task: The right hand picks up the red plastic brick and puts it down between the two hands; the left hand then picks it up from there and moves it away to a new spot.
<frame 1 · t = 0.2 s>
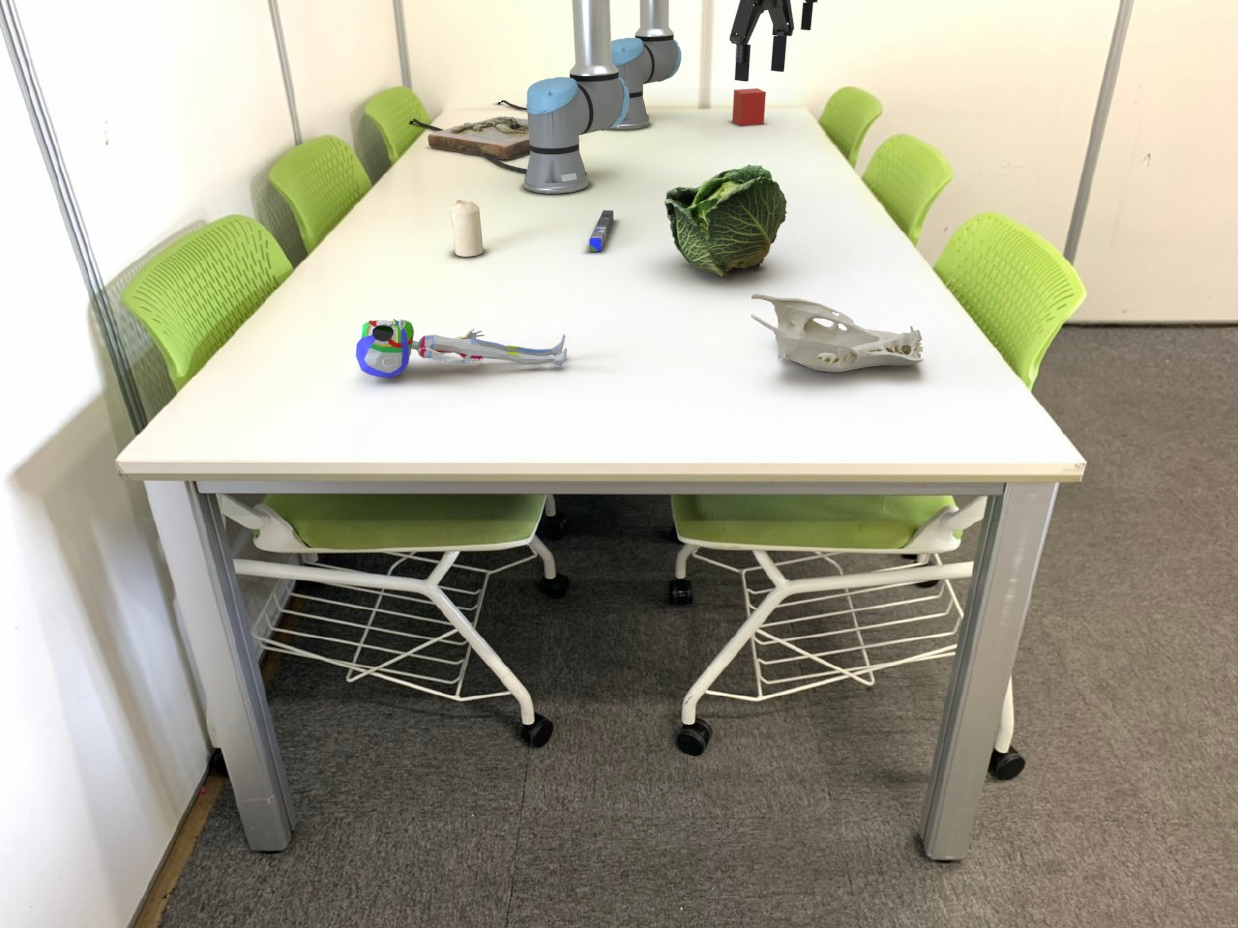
left hand: (759, 76, 180), 28 cm above the table, tool pointing down, fingers open, 13 cm apart
right hand: (791, 33, 236), 28 cm above the table, tool pointing down, fingers open, 13 cm apart
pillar: (602, 236, 183), on the table
brick: (747, 122, 272), on the table
anatomical model: (832, 363, 132), on the table
vegetable: (723, 269, 166), on the table
plaque: (504, 143, 253), on the table
candle: (469, 253, 175), on the table
toy: (464, 369, 132), on the table
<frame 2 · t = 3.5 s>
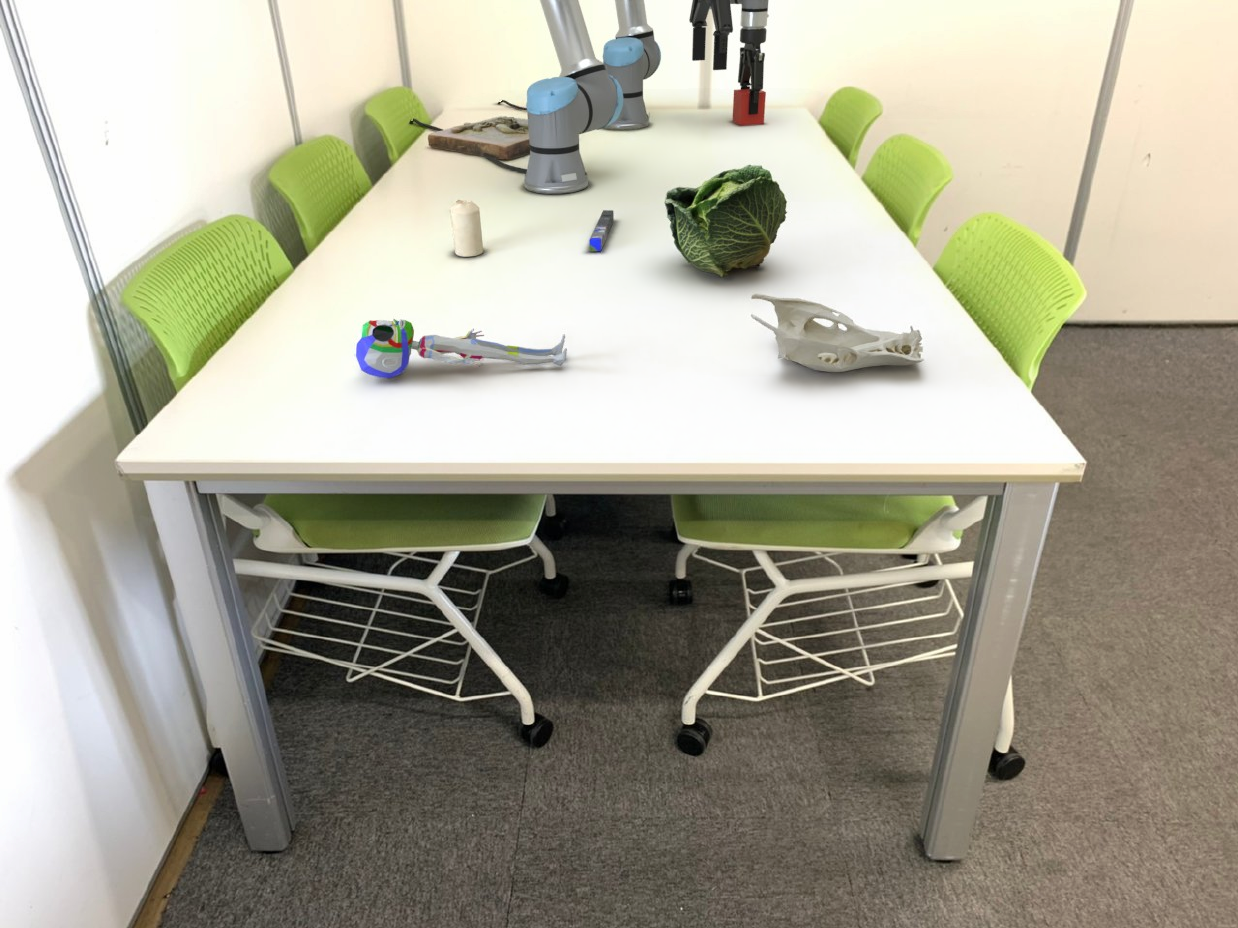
left hand: (708, 65, 192), 28 cm above the table, tool pointing down, fingers open, 13 cm apart
right hand: (748, 111, 270), 3 cm above the table, tool pointing down, fingers closed on brick, 7 cm apart
brick: (747, 122, 272), on the table, touching right hand
everything else where it was.
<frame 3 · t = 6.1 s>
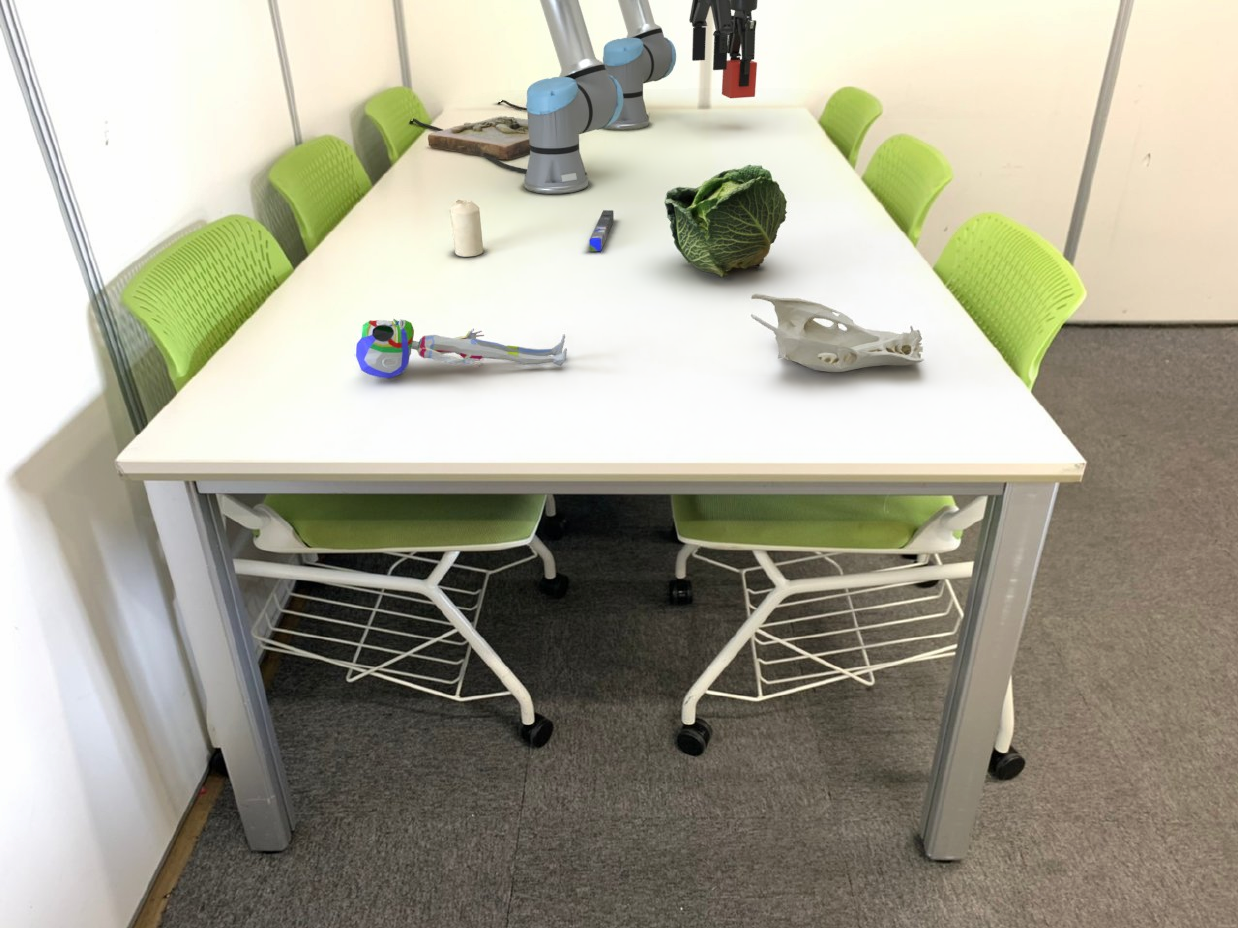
left hand: (708, 65, 192), 28 cm above the table, tool pointing down, fingers open, 13 cm apart
right hand: (738, 83, 257), 13 cm above the table, tool pointing down, fingers closed on brick, 7 cm apart
brick: (738, 95, 259), point 9 cm above the table, touching right hand
everything else where it was.
when the right hand's fingers open (4 cm above the table, at t = 9.0 s): brick drops 1 cm, on the table.
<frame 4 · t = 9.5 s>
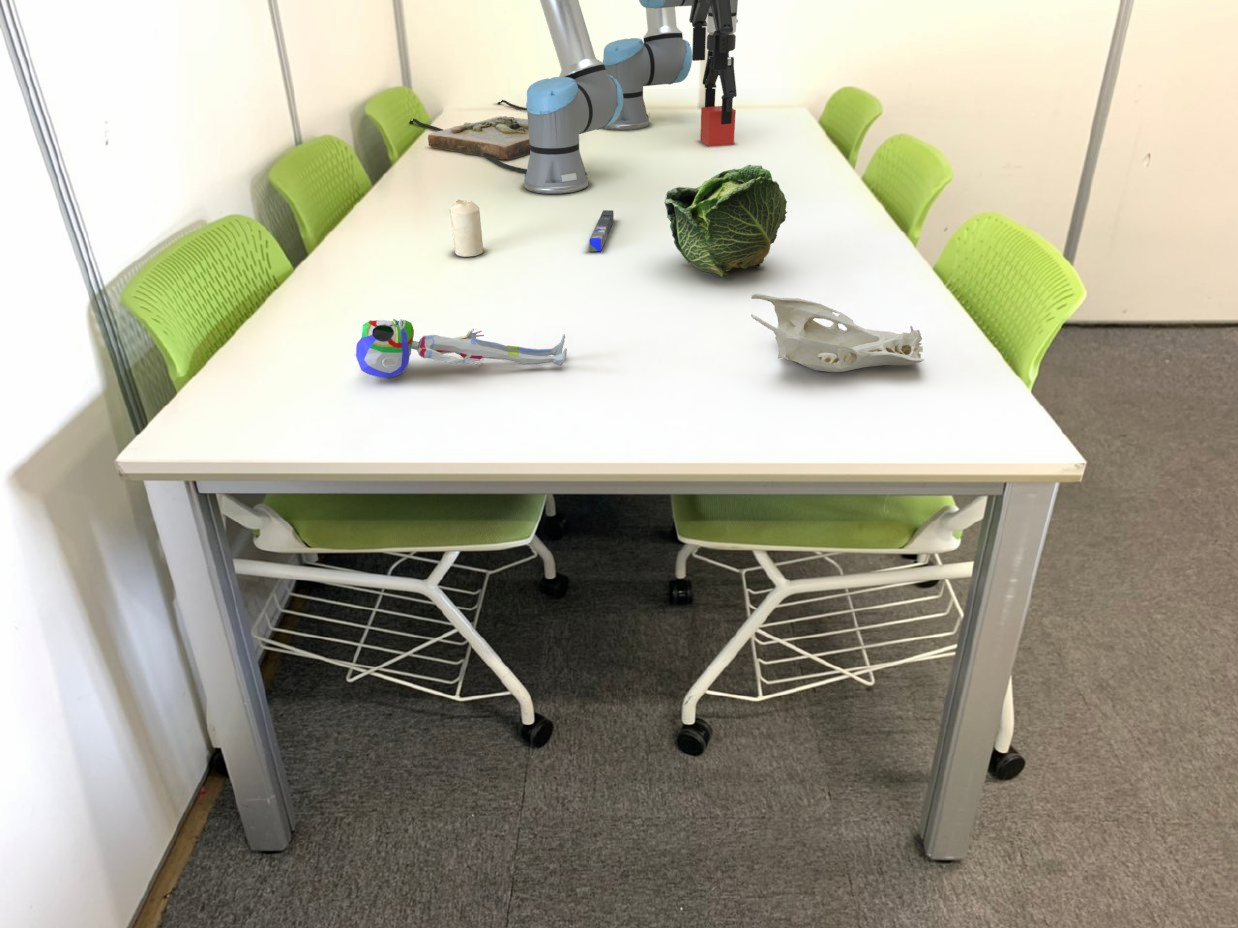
left hand: (708, 65, 192), 28 cm above the table, tool pointing down, fingers open, 13 cm apart
right hand: (717, 118, 247), 6 cm above the table, tool pointing down, fingers open, 13 cm apart
brick: (716, 143, 250), on the table
everything else where it was.
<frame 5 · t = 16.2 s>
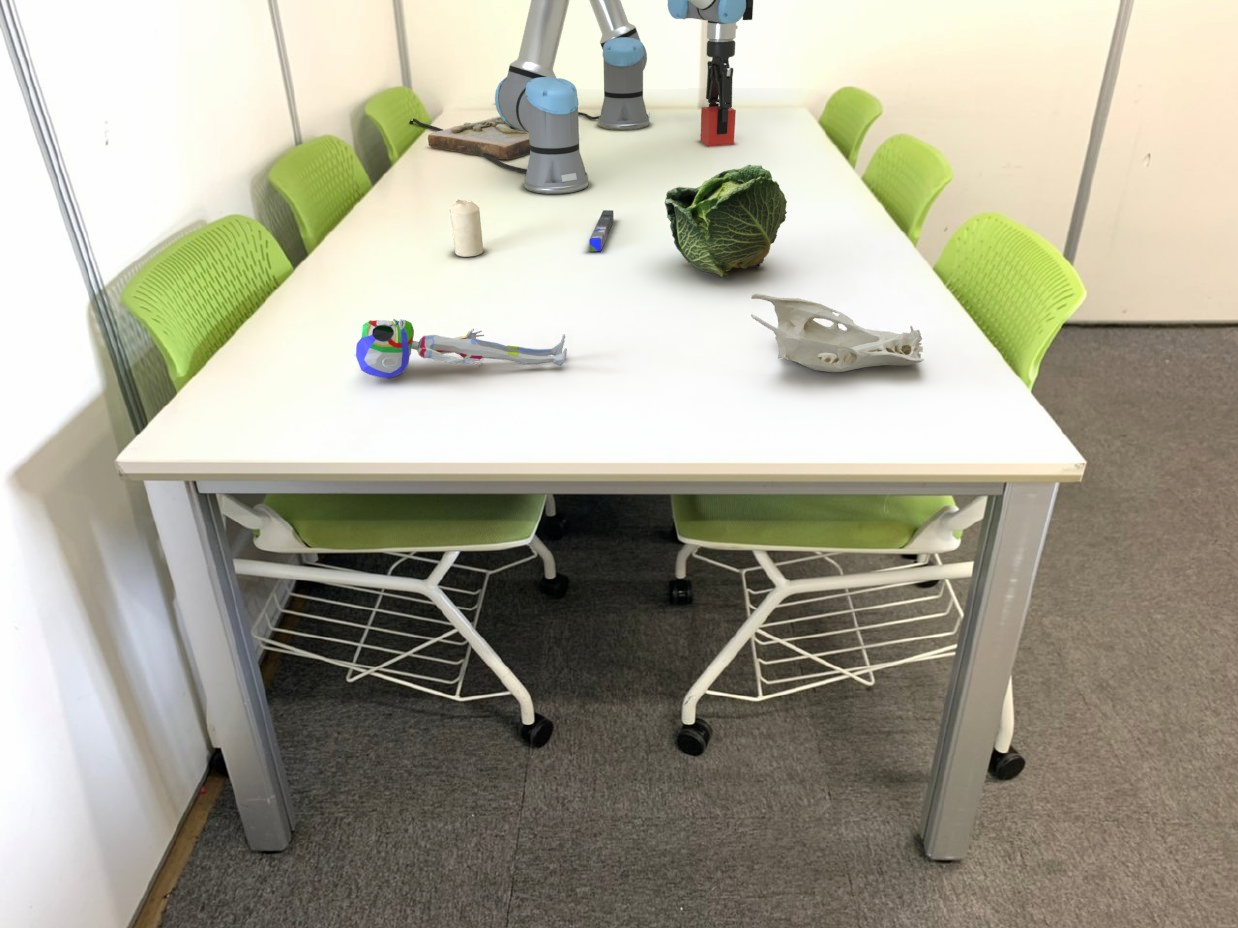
left hand: (717, 131, 249), 3 cm above the table, tool pointing down, fingers closed on brick, 7 cm apart
right hand: (738, 17, 265), 28 cm above the table, tool pointing down, fingers open, 13 cm apart
brick: (716, 143, 250), on the table, touching left hand
everything else where it was.
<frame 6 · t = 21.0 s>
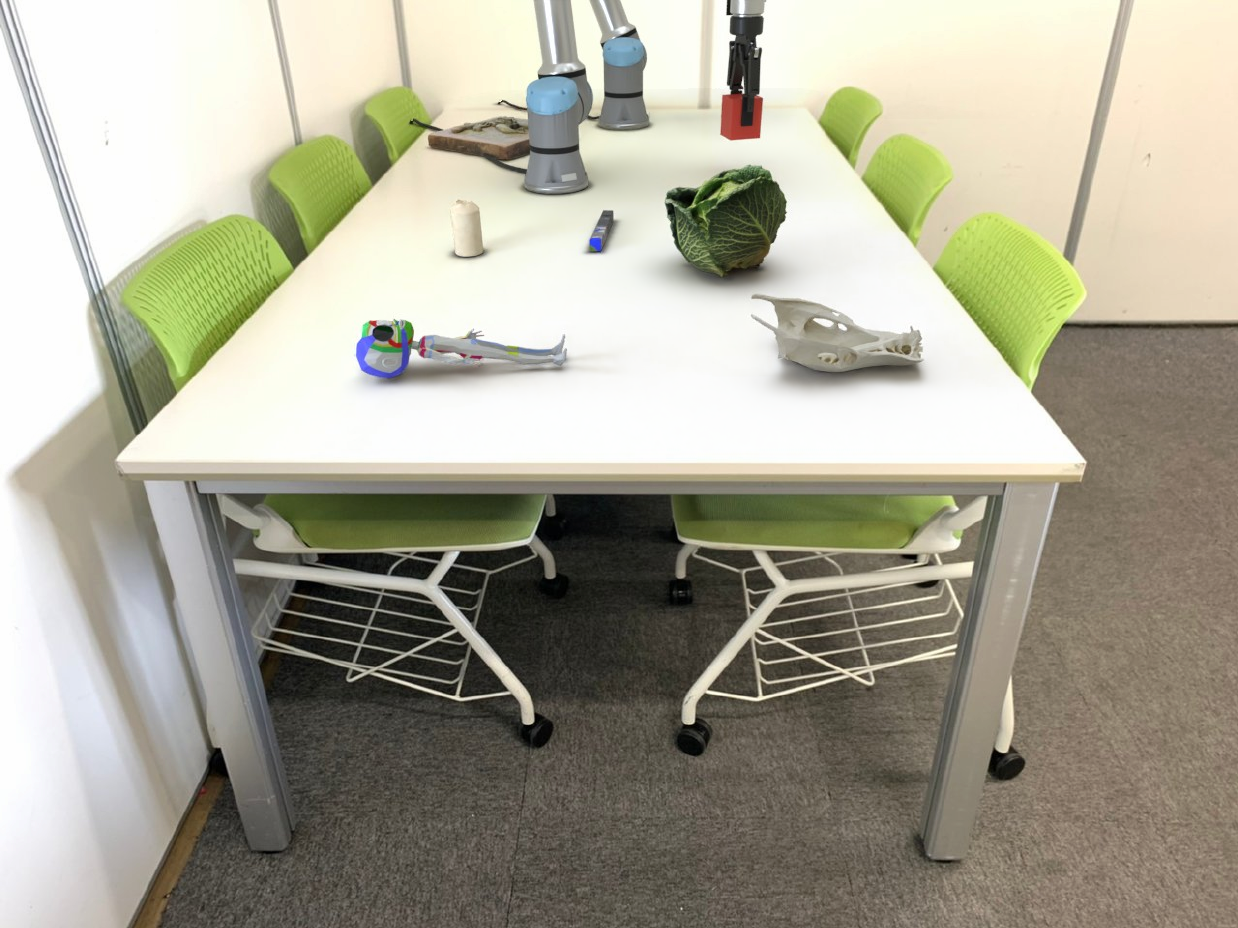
left hand: (740, 122, 213), 13 cm above the table, tool pointing down, fingers closed on brick, 7 cm apart
right hand: (738, 17, 265), 28 cm above the table, tool pointing down, fingers open, 13 cm apart
brick: (740, 136, 215), point 9 cm above the table, touching left hand
everything else where it was.
when the left hand's fingers open (4 cm above the table, at t = 26.0 s): brick drops 1 cm, on the table.
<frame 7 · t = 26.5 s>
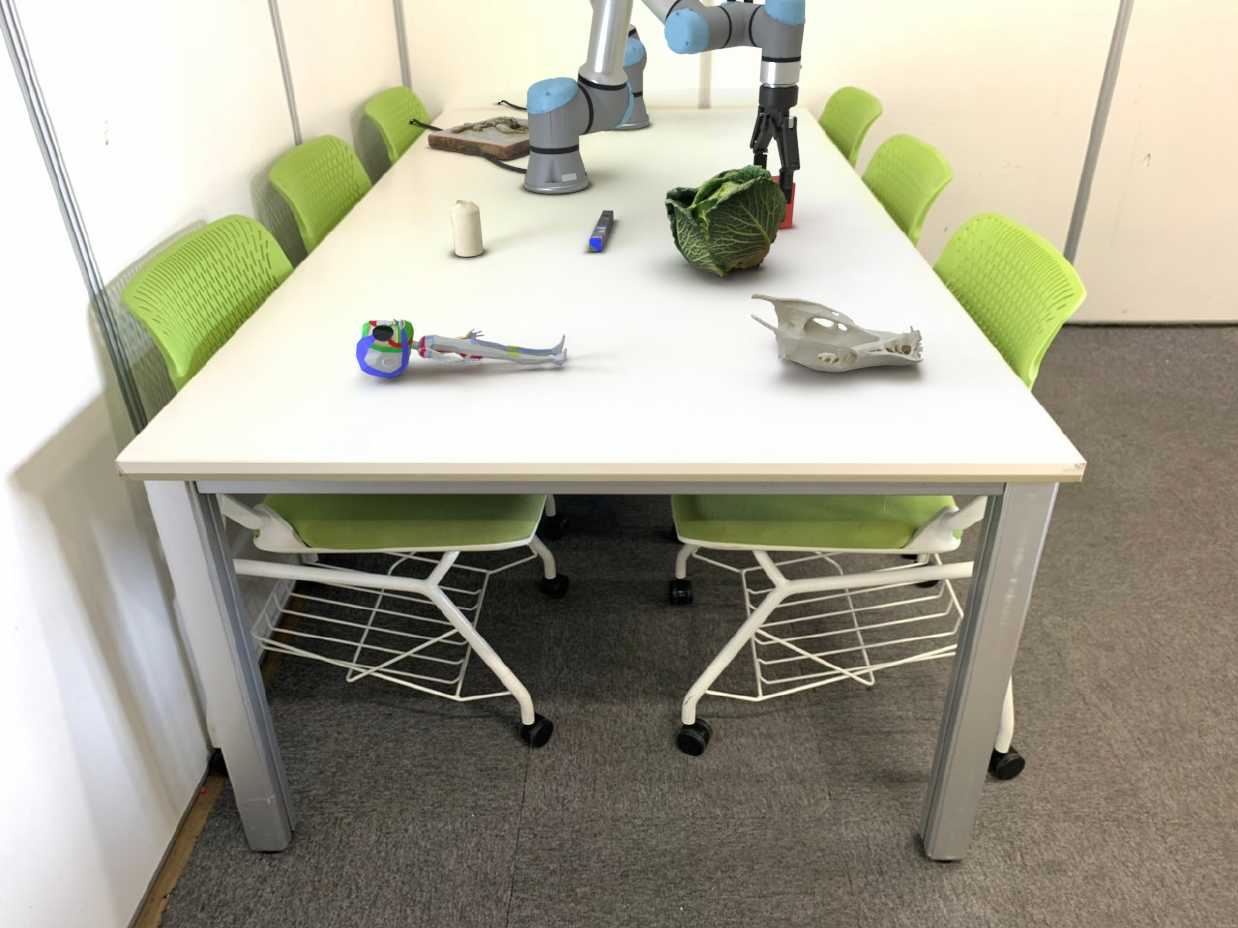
left hand: (770, 195, 184), 6 cm above the table, tool pointing down, fingers open, 13 cm apart
right hand: (738, 17, 265), 28 cm above the table, tool pointing down, fingers open, 13 cm apart
brick: (768, 224, 188), on the table
everything else where it was.
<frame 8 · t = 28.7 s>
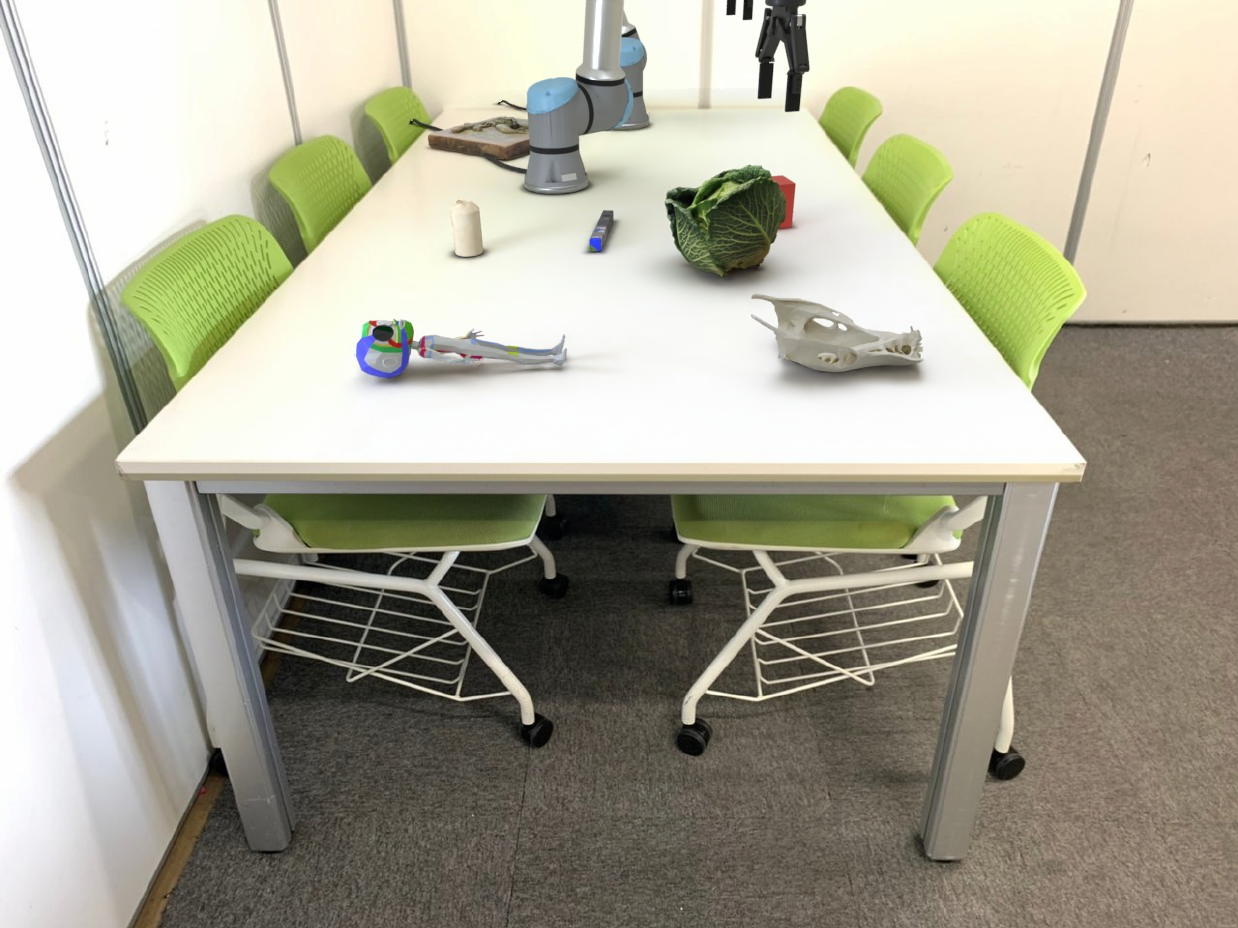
left hand: (777, 105, 175), 24 cm above the table, tool pointing down, fingers open, 13 cm apart
right hand: (738, 17, 265), 28 cm above the table, tool pointing down, fingers open, 13 cm apart
nothing on the table moved.
at the end: brick inside the target area (0.1 cm from its centre), on the table; brick tilted 0°; the two hands never held the brick at the same time; the left hand is holding nothing; the right hand is holding nothing; brick at rest at the end (0.0 cm/s) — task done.
